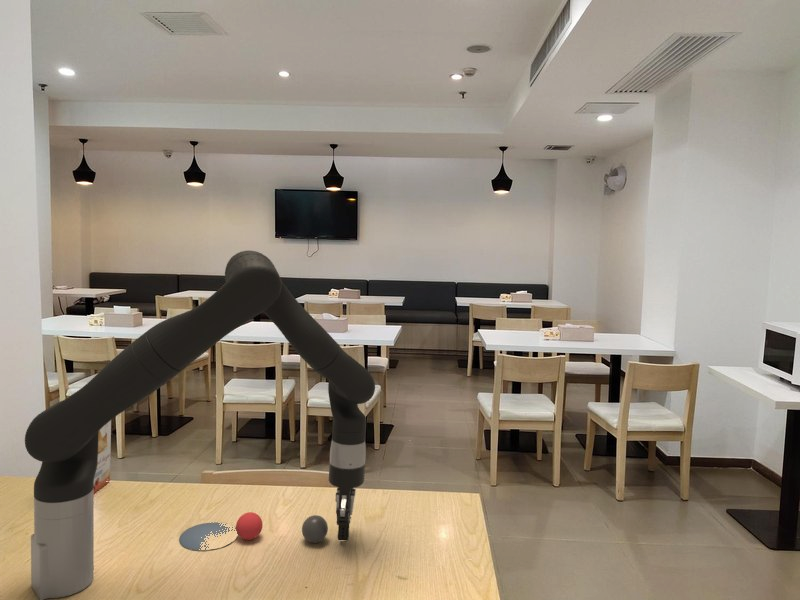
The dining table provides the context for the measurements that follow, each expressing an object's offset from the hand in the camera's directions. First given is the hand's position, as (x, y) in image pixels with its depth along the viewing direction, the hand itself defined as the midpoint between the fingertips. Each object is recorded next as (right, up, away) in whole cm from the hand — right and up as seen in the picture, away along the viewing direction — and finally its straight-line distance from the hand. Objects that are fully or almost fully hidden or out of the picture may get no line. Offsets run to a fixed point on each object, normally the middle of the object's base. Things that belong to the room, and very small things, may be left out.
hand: (343, 539), depth 124 cm
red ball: (-20, +3, 0) cm, 20 cm away
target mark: (-29, 0, 0) cm, 29 cm away
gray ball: (-6, +2, 0) cm, 6 cm away
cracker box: (-65, +4, +18) cm, 68 cm away
